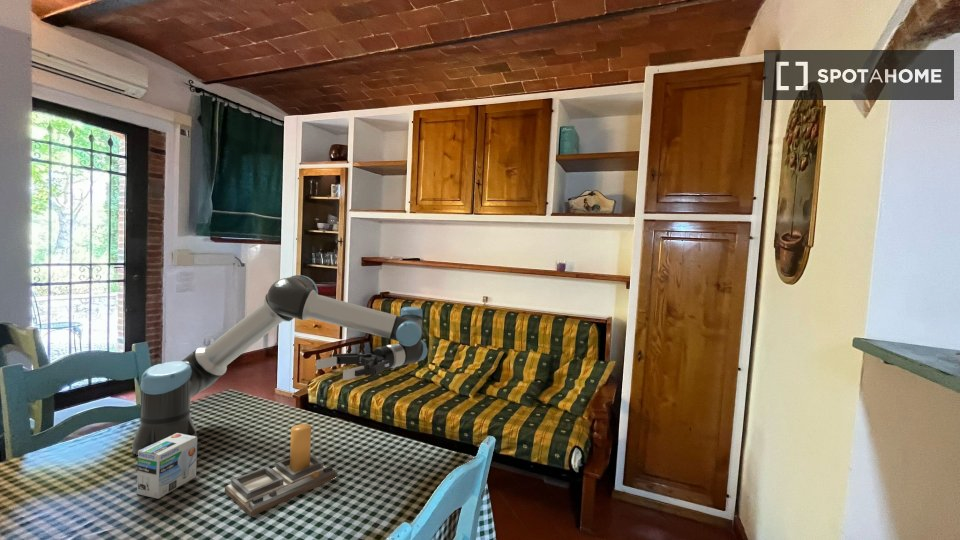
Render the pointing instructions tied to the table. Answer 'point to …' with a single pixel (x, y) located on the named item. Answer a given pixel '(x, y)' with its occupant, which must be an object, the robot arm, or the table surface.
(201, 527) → the table surface
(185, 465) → the light bulb box
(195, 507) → the table surface
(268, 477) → the board
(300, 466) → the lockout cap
